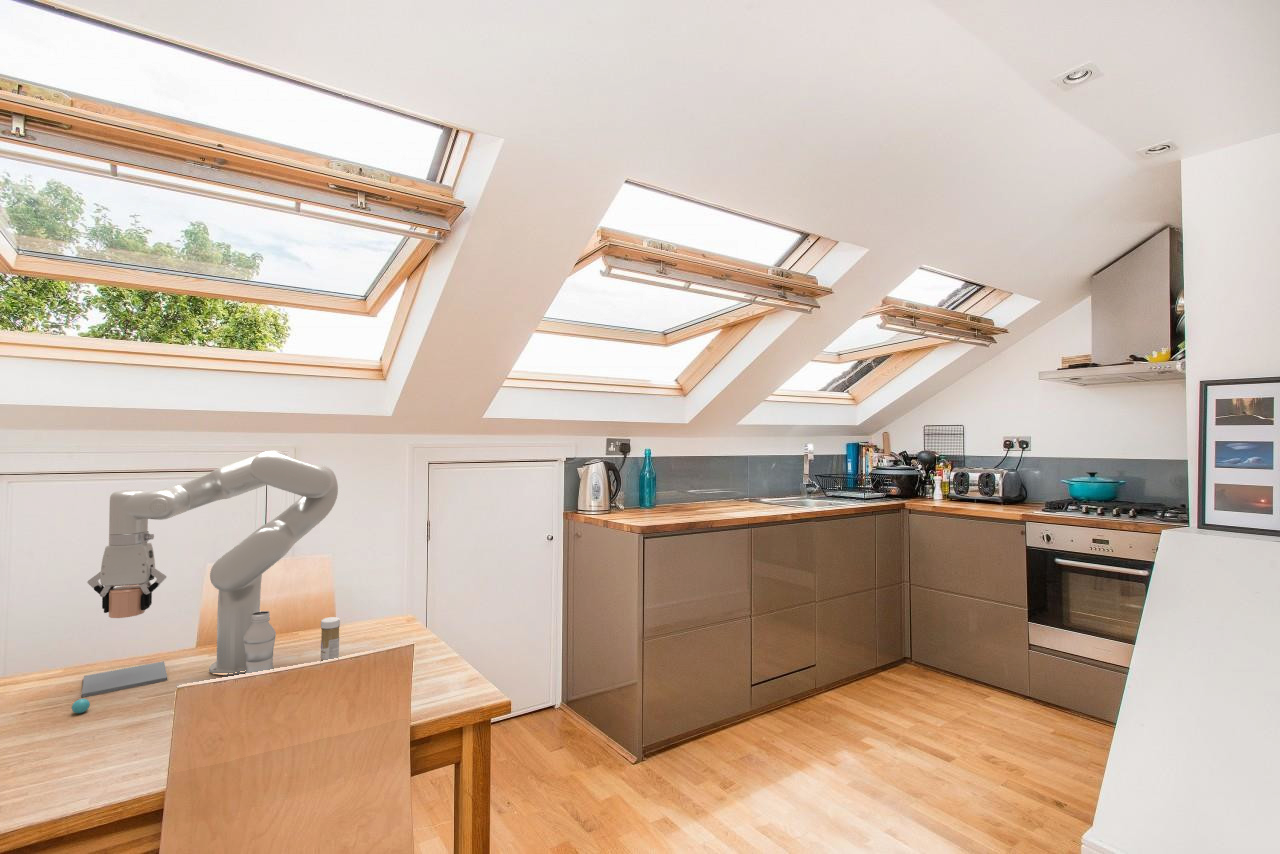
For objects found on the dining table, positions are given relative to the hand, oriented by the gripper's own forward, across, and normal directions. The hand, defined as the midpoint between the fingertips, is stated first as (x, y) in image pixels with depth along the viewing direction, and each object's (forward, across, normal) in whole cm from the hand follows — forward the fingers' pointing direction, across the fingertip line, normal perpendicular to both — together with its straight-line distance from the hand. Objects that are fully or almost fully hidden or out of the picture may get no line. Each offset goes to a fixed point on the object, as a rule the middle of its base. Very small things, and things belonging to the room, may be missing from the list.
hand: (127, 609), depth 155 cm
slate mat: (+18, 0, 0) cm, 18 cm away
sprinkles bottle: (+18, -48, +7) cm, 51 cm away
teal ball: (+18, +1, +19) cm, 26 cm away
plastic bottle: (+18, -35, +21) cm, 44 cm away
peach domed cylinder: (+1, 0, 0) cm, 1 cm away
